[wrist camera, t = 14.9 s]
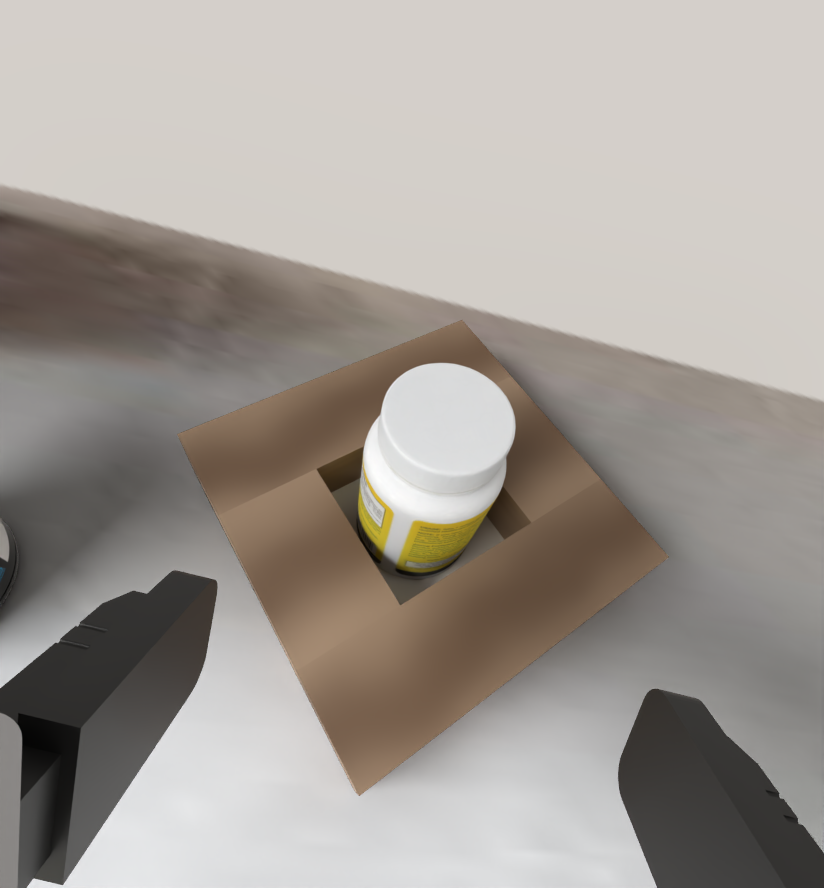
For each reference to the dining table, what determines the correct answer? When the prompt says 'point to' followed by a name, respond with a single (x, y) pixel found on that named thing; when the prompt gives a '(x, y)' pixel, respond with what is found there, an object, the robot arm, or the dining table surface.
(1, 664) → the dining table surface
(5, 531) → the supplement container
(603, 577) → the walnut pocket block
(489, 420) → the supplement bottle
